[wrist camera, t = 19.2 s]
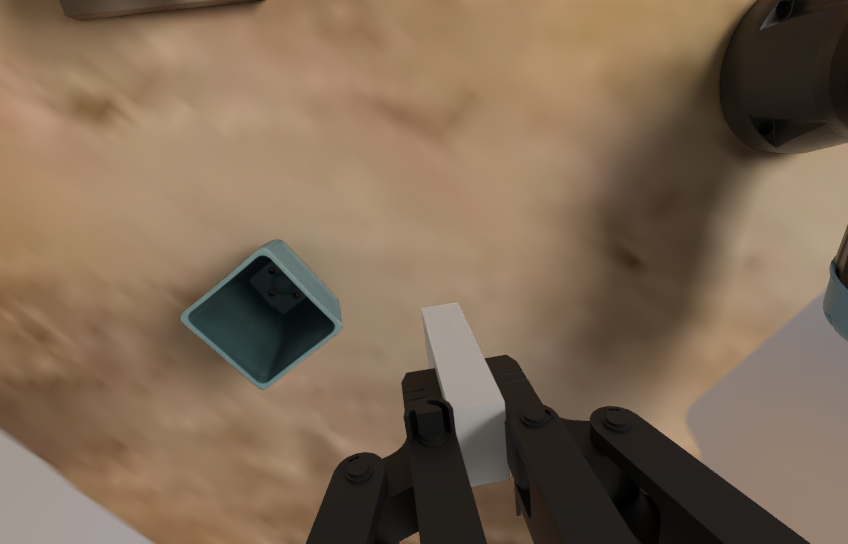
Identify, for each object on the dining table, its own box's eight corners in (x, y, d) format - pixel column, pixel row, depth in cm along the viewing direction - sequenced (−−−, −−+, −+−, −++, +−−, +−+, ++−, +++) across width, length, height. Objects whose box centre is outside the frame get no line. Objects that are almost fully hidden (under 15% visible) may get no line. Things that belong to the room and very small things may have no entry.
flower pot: (214, 276, 41) (174, 318, 32) (285, 217, 40) (263, 244, 31) (282, 339, 44) (262, 393, 35) (350, 285, 43) (345, 328, 34)
